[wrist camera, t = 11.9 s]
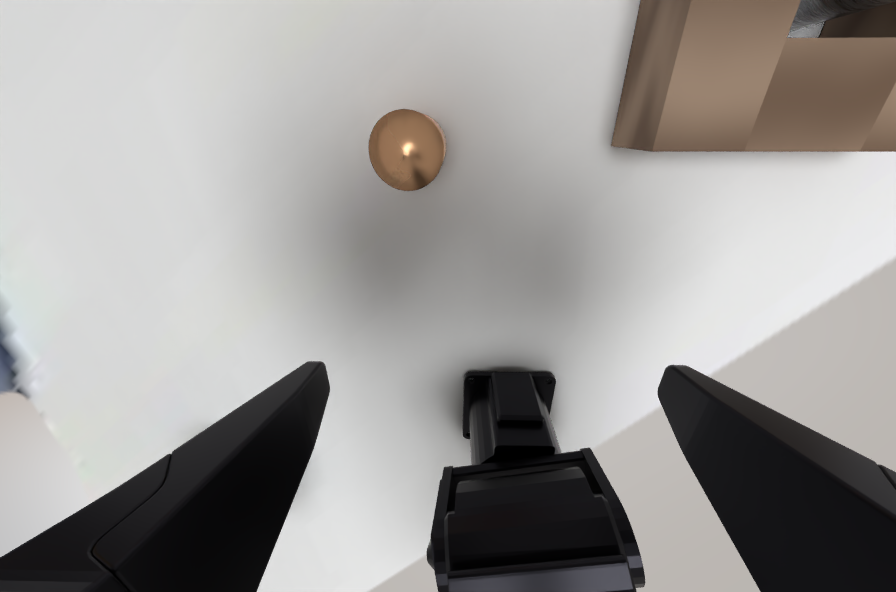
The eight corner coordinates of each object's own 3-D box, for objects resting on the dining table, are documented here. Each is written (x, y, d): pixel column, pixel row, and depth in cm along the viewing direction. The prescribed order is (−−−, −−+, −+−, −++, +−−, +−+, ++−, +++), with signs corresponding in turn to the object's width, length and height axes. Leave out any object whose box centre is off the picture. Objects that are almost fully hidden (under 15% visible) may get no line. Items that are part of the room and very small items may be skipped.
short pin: (446, 176, 18) (443, 190, 14) (391, 176, 18) (372, 190, 14) (446, 113, 17) (443, 109, 13) (386, 113, 17) (364, 109, 13)
